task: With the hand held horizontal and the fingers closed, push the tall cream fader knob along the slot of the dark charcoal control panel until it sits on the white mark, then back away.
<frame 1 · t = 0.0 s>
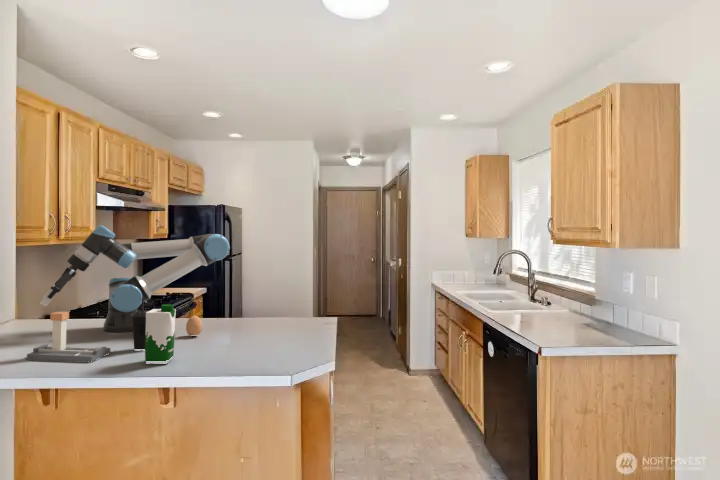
hand: (44, 302, 185), 15 cm above the countertop, tool tilted 35°, fingers open, 13 cm apart
egg: (193, 337, 202), on the countertop
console: (70, 356, 166), on the countertop
milk carton: (159, 362, 164), on the countertop
fader: (59, 331, 165), point 9 cm above the countertop, slide at 0.0 cm
drinking cup: (141, 350, 178), on the countertop
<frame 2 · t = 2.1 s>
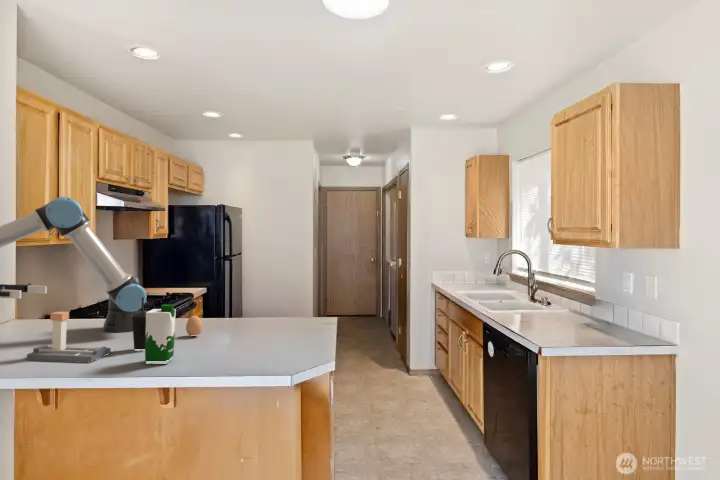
hand: (33, 292, 165), 22 cm above the countertop, tool horizontal, fingers open, 12 cm apart
nothing on the countertop moved.
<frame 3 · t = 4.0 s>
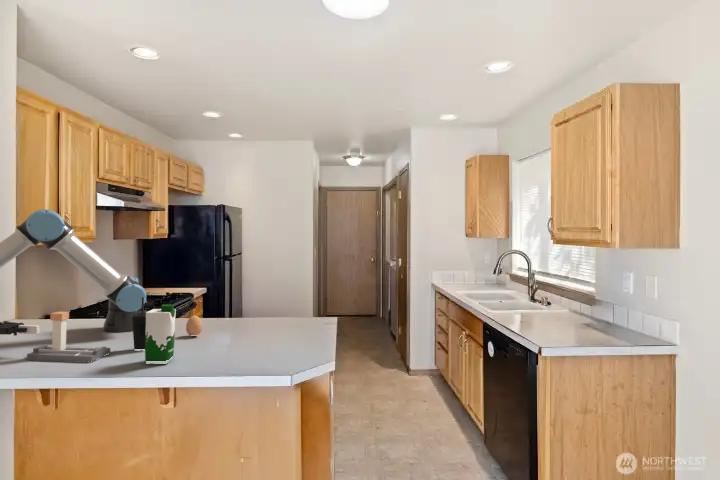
hand: (38, 329, 165), 9 cm above the countertop, tool horizontal, fingers closed
nothing on the countertop moved.
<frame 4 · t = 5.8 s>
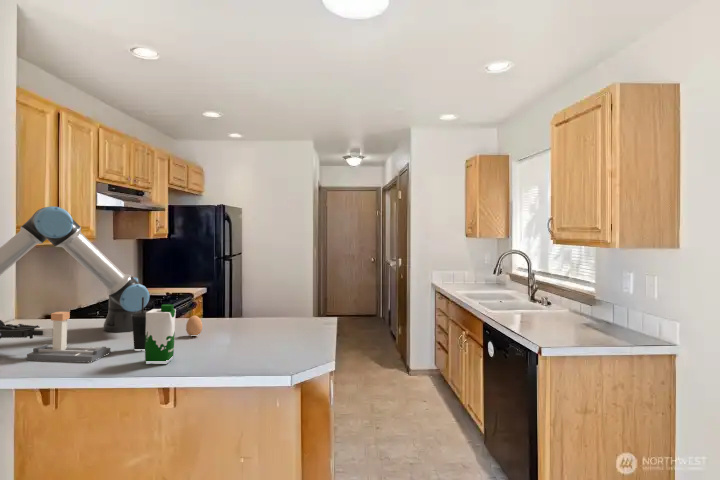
hand: (53, 332, 165), 8 cm above the countertop, tool horizontal, fingers closed
fader: (60, 331, 165), point 9 cm above the countertop, slide at 0.3 cm, touching gripper
everything else where it was.
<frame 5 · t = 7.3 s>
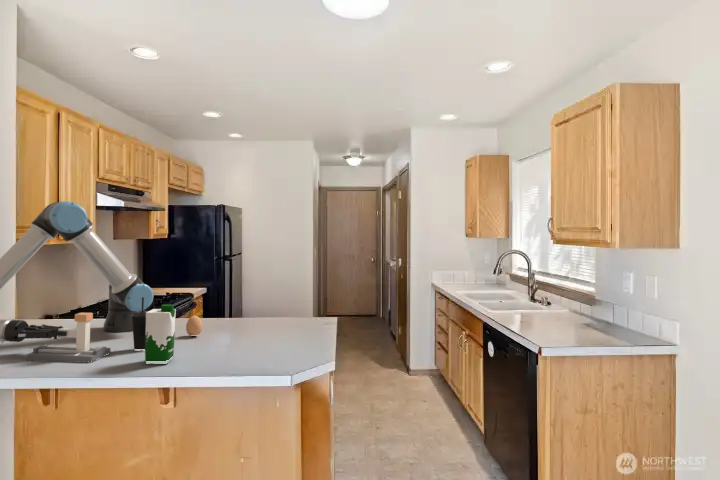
hand: (77, 333, 165), 8 cm above the countertop, tool horizontal, fingers closed
fader: (83, 332, 165), point 9 cm above the countertop, slide at 8.5 cm, touching gripper
everything else where it was.
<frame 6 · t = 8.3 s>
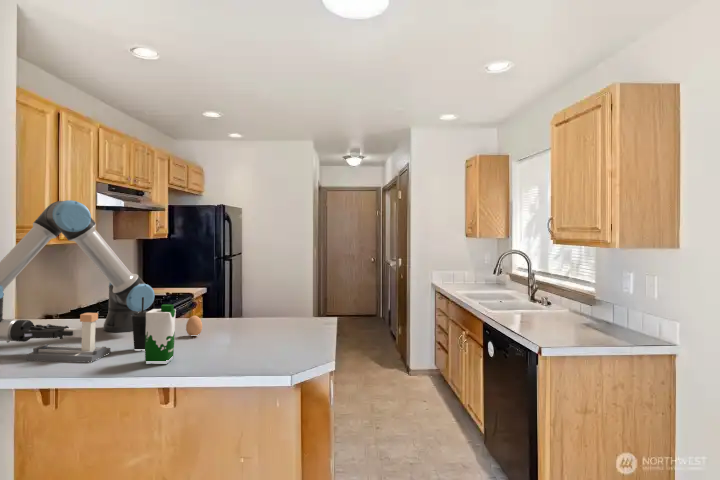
hand: (83, 333, 165), 8 cm above the countertop, tool horizontal, fingers closed
fader: (88, 332, 165), point 9 cm above the countertop, slide at 10.3 cm, touching gripper
everything else where it was.
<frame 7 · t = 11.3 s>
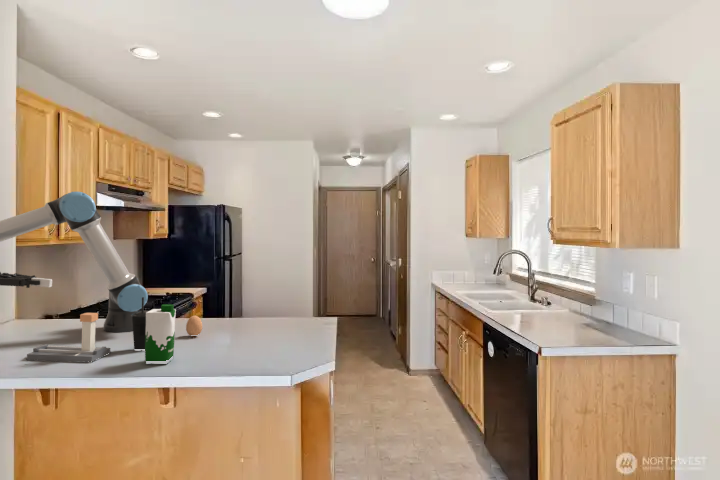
hand: (50, 283, 166), 25 cm above the countertop, tool horizontal, fingers closed
fader: (88, 332, 165), point 9 cm above the countertop, slide at 10.3 cm
everything else where it was.
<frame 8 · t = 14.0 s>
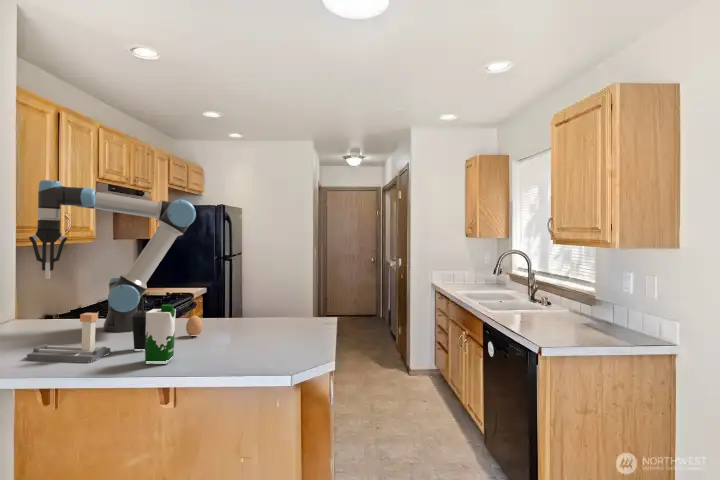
hand: (47, 278, 187), 24 cm above the countertop, tool pointing down, fingers closed
nothing on the countertop moved.
at the end: fader slide at 10.3 cm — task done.
